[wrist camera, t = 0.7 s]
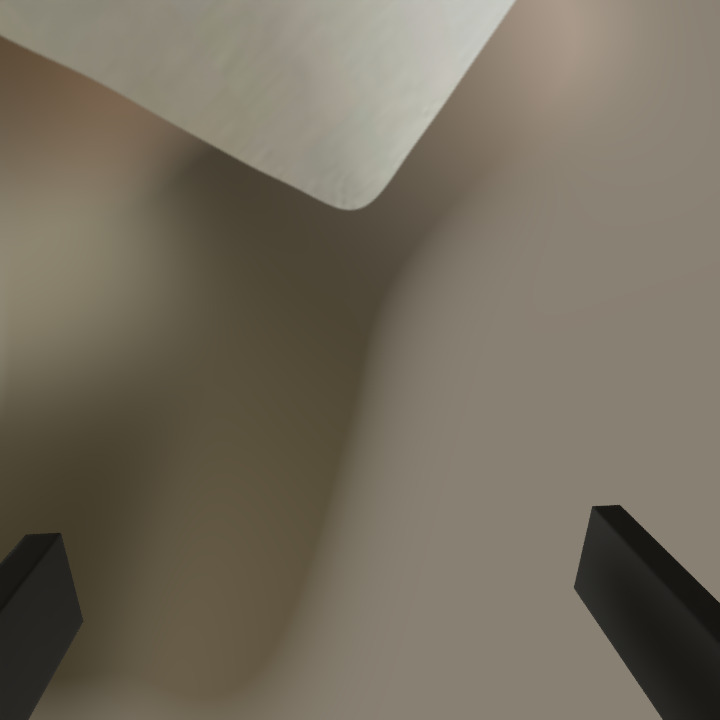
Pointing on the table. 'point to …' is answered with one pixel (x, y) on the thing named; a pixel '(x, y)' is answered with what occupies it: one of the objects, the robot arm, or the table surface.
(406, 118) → the table surface
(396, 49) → the table surface
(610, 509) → the robot arm
